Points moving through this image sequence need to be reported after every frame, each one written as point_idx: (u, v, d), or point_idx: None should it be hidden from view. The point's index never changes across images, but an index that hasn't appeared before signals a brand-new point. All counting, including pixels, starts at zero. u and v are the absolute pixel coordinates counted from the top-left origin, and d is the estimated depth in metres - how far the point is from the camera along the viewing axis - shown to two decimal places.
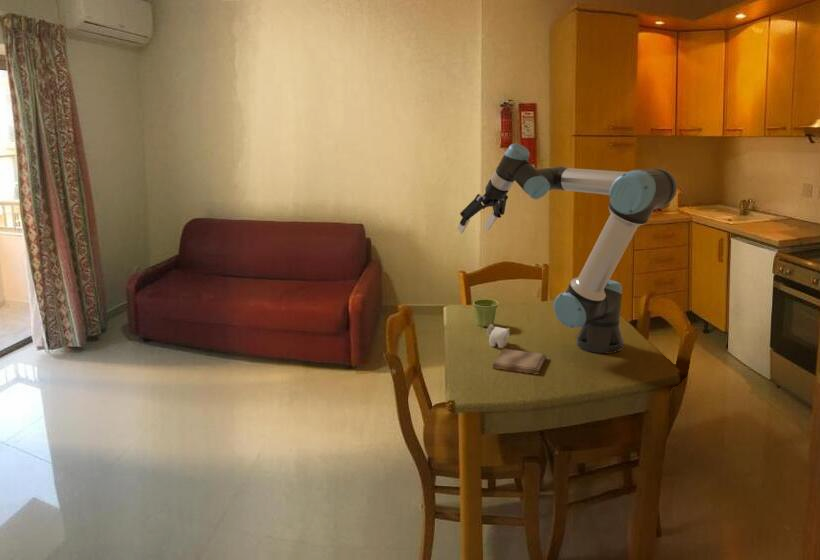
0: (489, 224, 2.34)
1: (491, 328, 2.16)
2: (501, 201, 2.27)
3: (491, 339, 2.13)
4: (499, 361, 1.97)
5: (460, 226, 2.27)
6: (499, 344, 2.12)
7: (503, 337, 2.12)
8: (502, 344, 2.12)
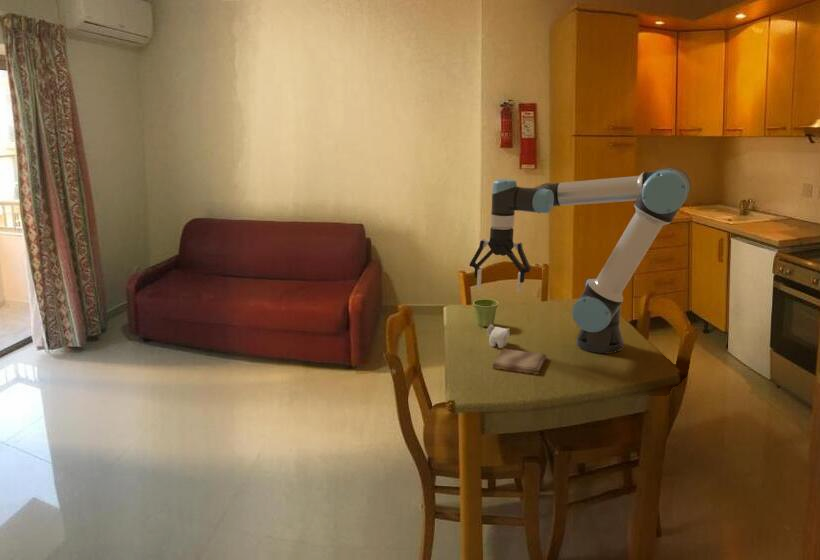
0: None
1: (491, 328, 2.16)
2: None
3: (491, 339, 2.13)
4: (499, 361, 1.97)
5: None
6: (499, 344, 2.12)
7: (503, 337, 2.12)
8: (502, 344, 2.12)
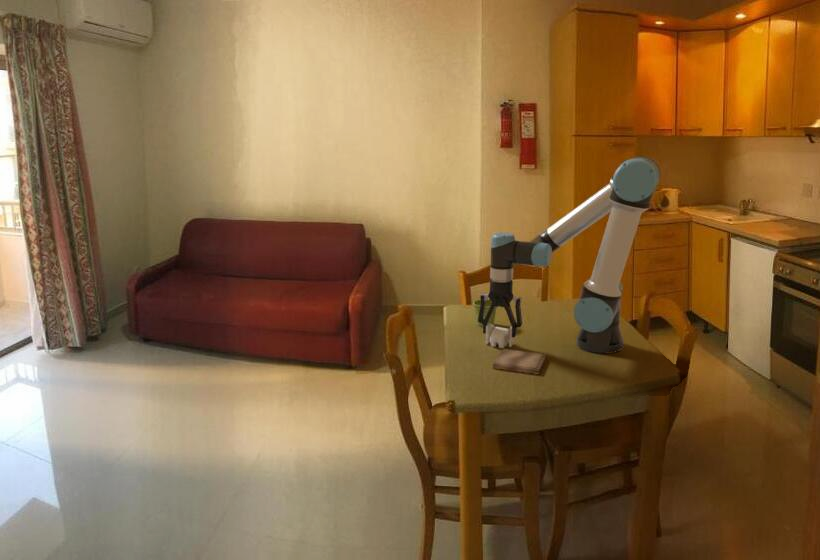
0: None
1: (492, 328, 2.16)
2: None
3: (492, 339, 2.13)
4: (499, 361, 1.97)
5: None
6: (500, 344, 2.12)
7: (504, 337, 2.12)
8: (503, 344, 2.12)
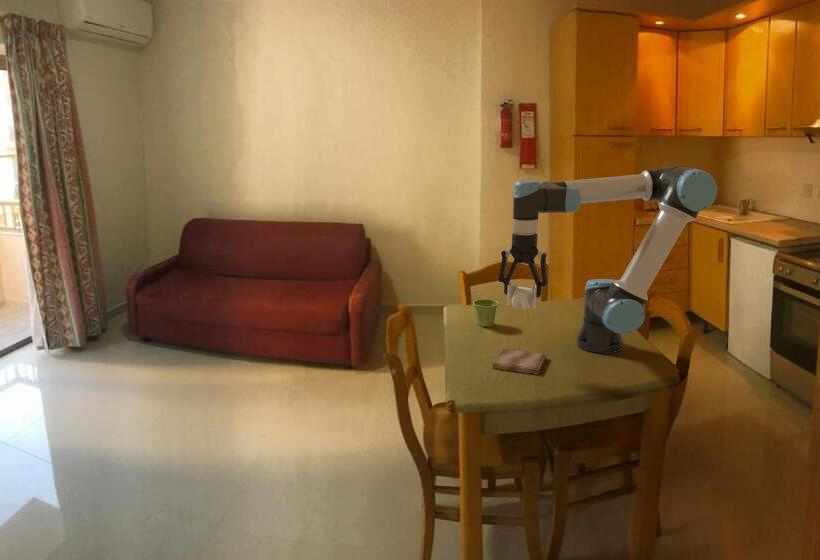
0: None
1: (513, 288, 1.95)
2: None
3: (514, 300, 1.92)
4: (499, 361, 1.97)
5: None
6: (523, 305, 1.91)
7: (528, 297, 1.91)
8: (526, 305, 1.91)
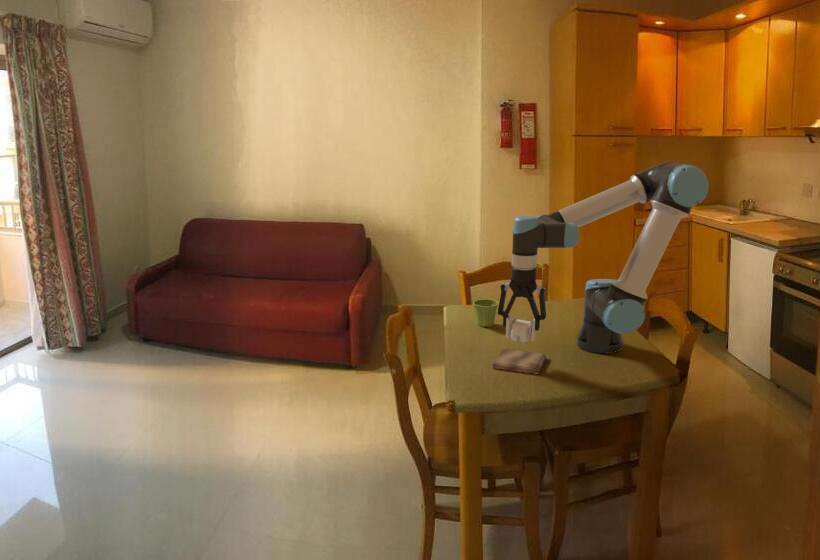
0: (532, 333, 1.95)
1: (512, 321, 1.98)
2: None
3: (513, 333, 1.94)
4: (499, 361, 1.97)
5: None
6: (522, 338, 1.93)
7: (526, 330, 1.94)
8: (525, 338, 1.93)
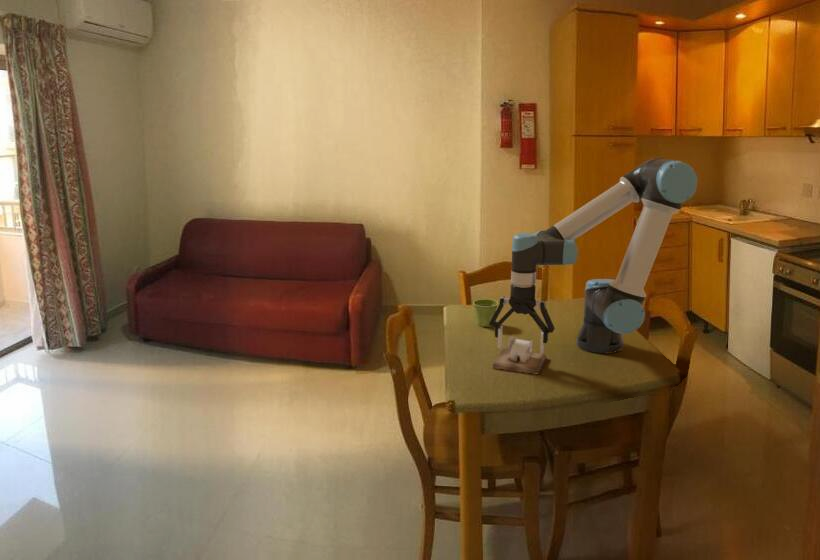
0: None
1: (512, 340, 1.99)
2: None
3: (513, 353, 1.96)
4: (499, 361, 1.97)
5: None
6: (522, 358, 1.95)
7: (526, 350, 1.95)
8: (525, 358, 1.95)
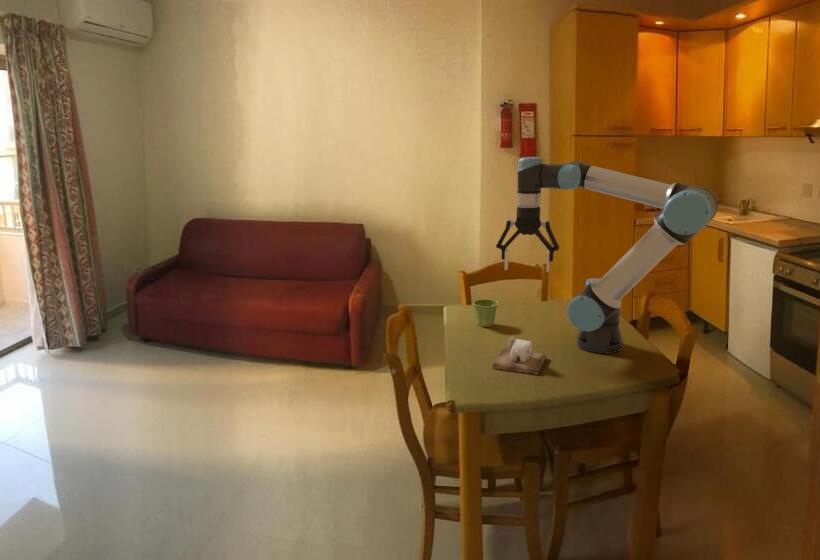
0: None
1: (512, 340, 1.99)
2: None
3: (513, 353, 1.96)
4: (499, 361, 1.97)
5: None
6: (522, 358, 1.95)
7: (526, 350, 1.95)
8: (525, 358, 1.95)
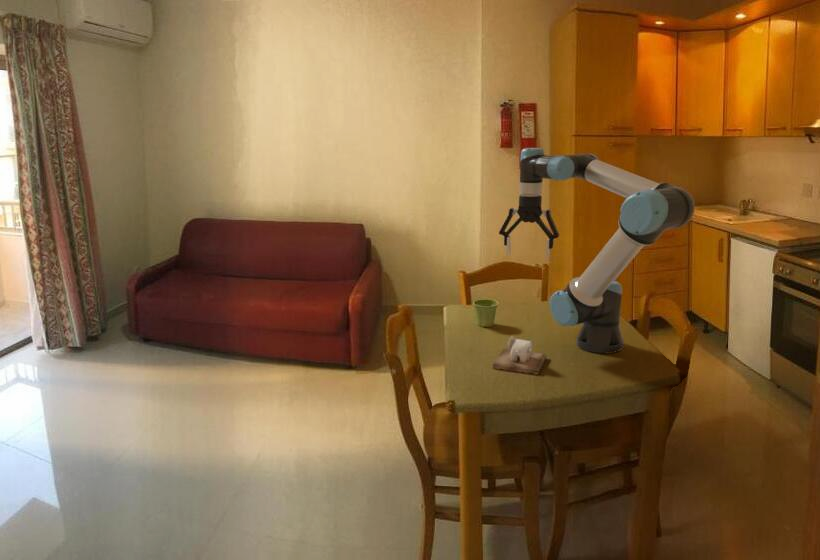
0: None
1: (512, 340, 1.99)
2: None
3: (513, 353, 1.96)
4: (499, 361, 1.97)
5: None
6: (522, 358, 1.95)
7: (526, 350, 1.95)
8: (525, 358, 1.95)
